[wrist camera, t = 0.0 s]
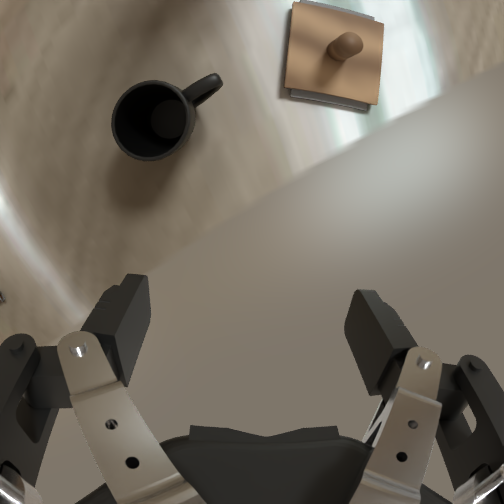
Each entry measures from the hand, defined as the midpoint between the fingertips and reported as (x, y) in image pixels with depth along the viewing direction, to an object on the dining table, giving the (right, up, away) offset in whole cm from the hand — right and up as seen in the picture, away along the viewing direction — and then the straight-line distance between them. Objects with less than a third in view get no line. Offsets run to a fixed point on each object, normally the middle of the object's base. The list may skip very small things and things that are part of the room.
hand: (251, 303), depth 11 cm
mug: (-9, +19, +23) cm, 31 cm away
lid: (+10, +27, +20) cm, 35 cm away
